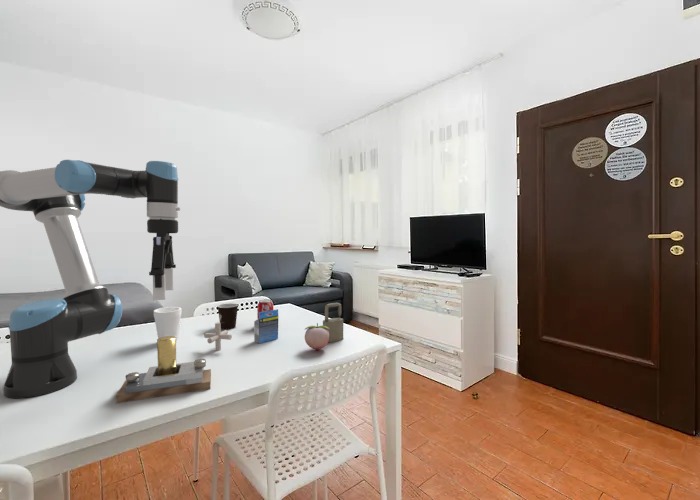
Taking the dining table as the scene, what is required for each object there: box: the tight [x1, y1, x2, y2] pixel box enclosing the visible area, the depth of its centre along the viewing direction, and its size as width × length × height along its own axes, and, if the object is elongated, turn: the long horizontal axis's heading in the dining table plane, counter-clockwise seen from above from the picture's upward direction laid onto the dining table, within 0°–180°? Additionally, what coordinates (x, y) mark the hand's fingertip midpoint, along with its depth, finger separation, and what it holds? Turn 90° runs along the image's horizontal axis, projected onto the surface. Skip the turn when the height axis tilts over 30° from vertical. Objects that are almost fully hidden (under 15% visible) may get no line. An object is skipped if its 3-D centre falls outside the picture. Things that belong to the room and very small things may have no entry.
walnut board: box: [115, 368, 212, 404], centre depth 93 cm, size 22×9×2 cm, turn 111°
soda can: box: [256, 298, 274, 320], centre depth 153 cm, size 7×7×12 cm
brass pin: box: [156, 336, 177, 376], centre depth 93 cm, size 4×4×12 cm
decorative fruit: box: [303, 322, 330, 351], centre depth 123 cm, size 9×8×10 cm
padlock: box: [322, 302, 344, 343], centre depth 135 cm, size 4×8×15 cm, turn 122°
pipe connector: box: [203, 321, 232, 352], centre depth 123 cm, size 10×10×10 cm
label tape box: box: [253, 308, 279, 344], centre depth 134 cm, size 9×4×12 cm, turn 135°
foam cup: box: [153, 306, 183, 344], centre depth 130 cm, size 10×9×13 cm
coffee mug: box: [217, 303, 239, 331], centre depth 150 cm, size 12×9×10 cm
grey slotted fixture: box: [125, 358, 207, 394], centre depth 93 cm, size 20×9×5 cm, turn 111°
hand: (163, 294), depth 95 cm, fingers open, 13 cm apart
